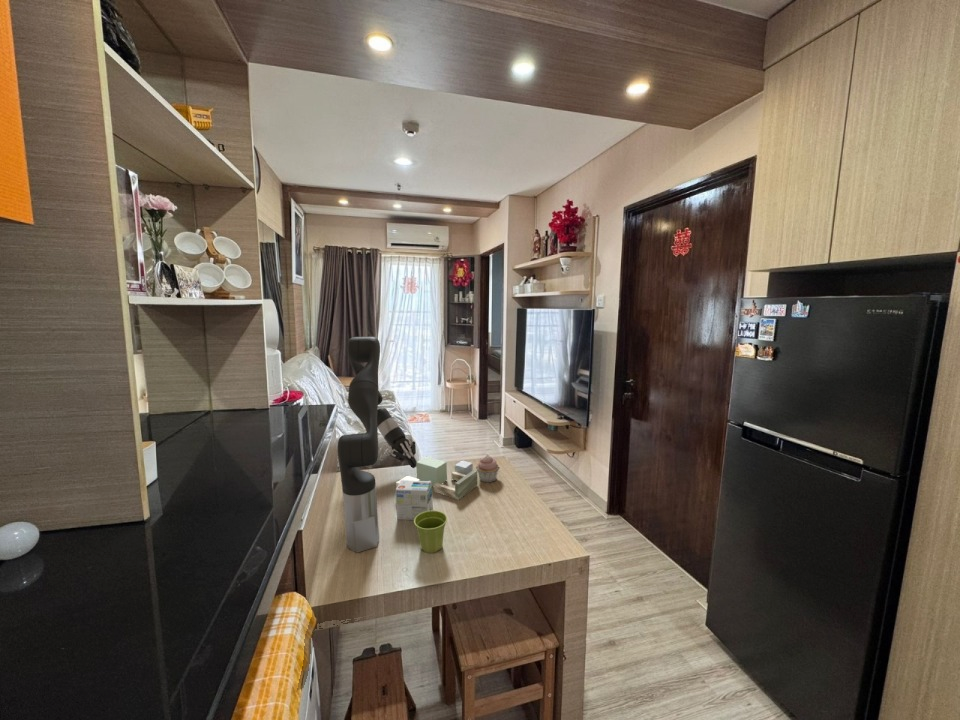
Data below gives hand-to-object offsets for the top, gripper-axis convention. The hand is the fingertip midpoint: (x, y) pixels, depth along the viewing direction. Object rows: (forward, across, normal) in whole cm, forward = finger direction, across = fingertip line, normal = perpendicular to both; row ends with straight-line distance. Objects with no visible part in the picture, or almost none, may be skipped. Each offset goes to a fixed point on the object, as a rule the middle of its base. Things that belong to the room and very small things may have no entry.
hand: (415, 466), depth 157 cm
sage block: (+9, 0, -3) cm, 9 cm away
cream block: (+9, -13, -3) cm, 16 cm away
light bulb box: (+16, -21, -10) cm, 28 cm away
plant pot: (+26, -31, -20) cm, 45 cm away
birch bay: (+17, 0, -11) cm, 20 cm away
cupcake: (+21, +13, -15) cm, 29 cm away
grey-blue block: (+14, +10, -8) cm, 19 cm away
